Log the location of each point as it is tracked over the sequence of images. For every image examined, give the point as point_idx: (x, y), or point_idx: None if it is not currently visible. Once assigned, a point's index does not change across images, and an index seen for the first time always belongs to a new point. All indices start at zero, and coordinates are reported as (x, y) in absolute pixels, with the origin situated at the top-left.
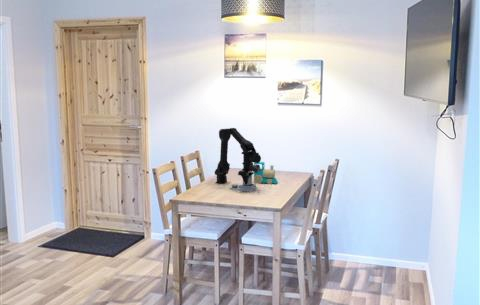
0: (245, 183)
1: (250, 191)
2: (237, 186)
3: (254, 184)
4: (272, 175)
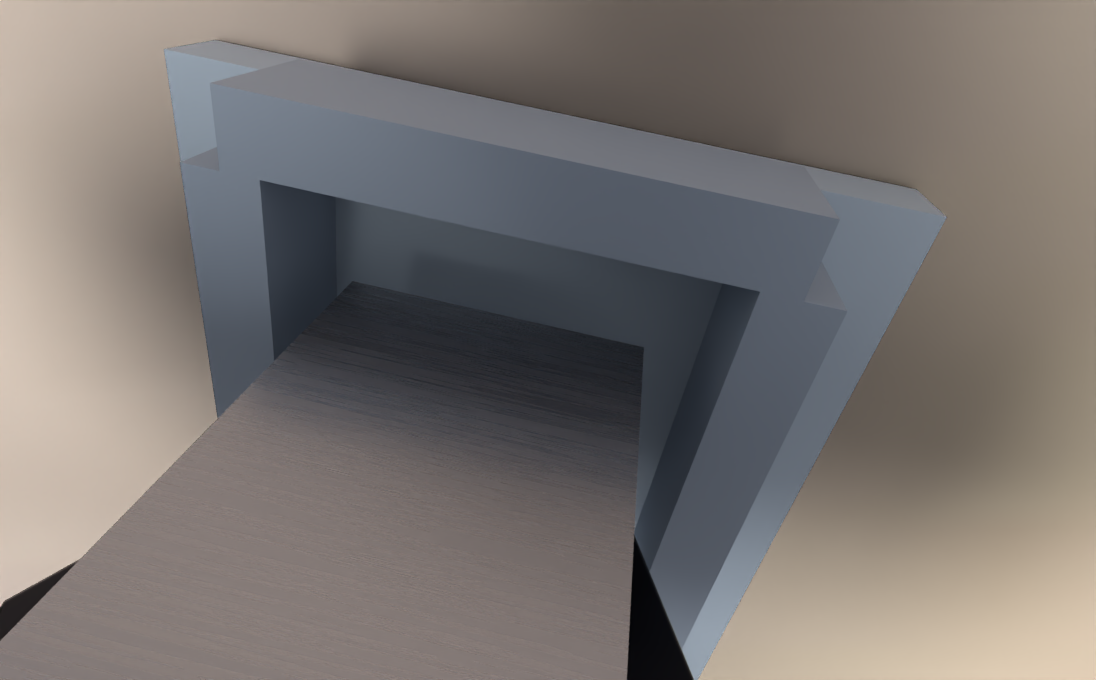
0: None
1: (910, 190)
2: None
3: (276, 157)
4: None
